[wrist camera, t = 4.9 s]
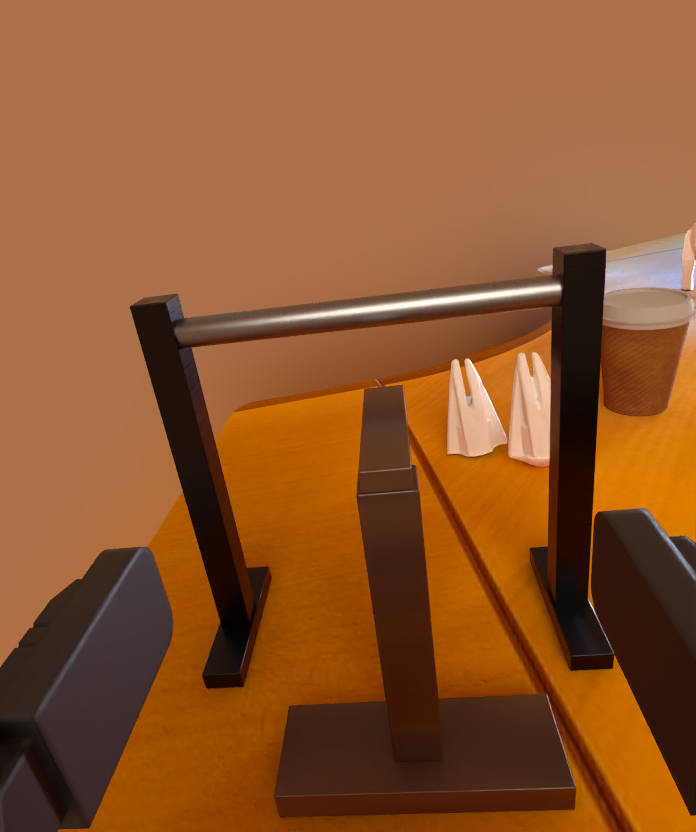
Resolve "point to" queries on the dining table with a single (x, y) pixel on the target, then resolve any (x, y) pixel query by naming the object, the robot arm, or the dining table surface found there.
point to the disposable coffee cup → (642, 347)
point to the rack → (563, 291)
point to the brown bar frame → (413, 684)
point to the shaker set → (478, 422)
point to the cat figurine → (689, 259)
